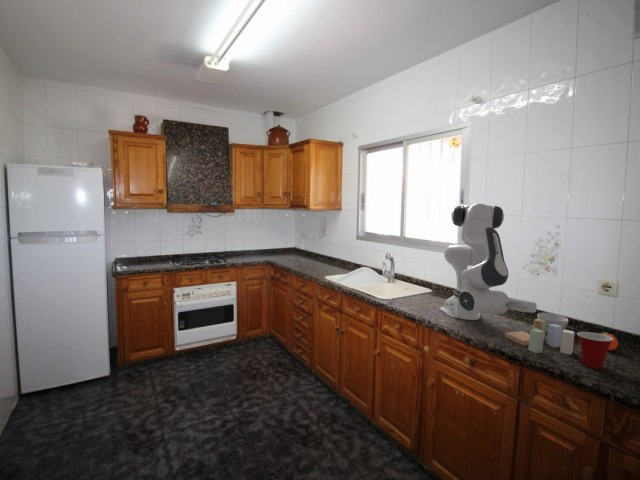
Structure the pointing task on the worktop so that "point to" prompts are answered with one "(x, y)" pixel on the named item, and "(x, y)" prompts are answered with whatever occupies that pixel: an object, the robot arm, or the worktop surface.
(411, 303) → the worktop surface
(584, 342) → the plastic cup
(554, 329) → the dusty blue post
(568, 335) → the cream post
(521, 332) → the terracotta tile
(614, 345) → the clementine
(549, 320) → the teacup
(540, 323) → the beech post
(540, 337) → the sage green post
